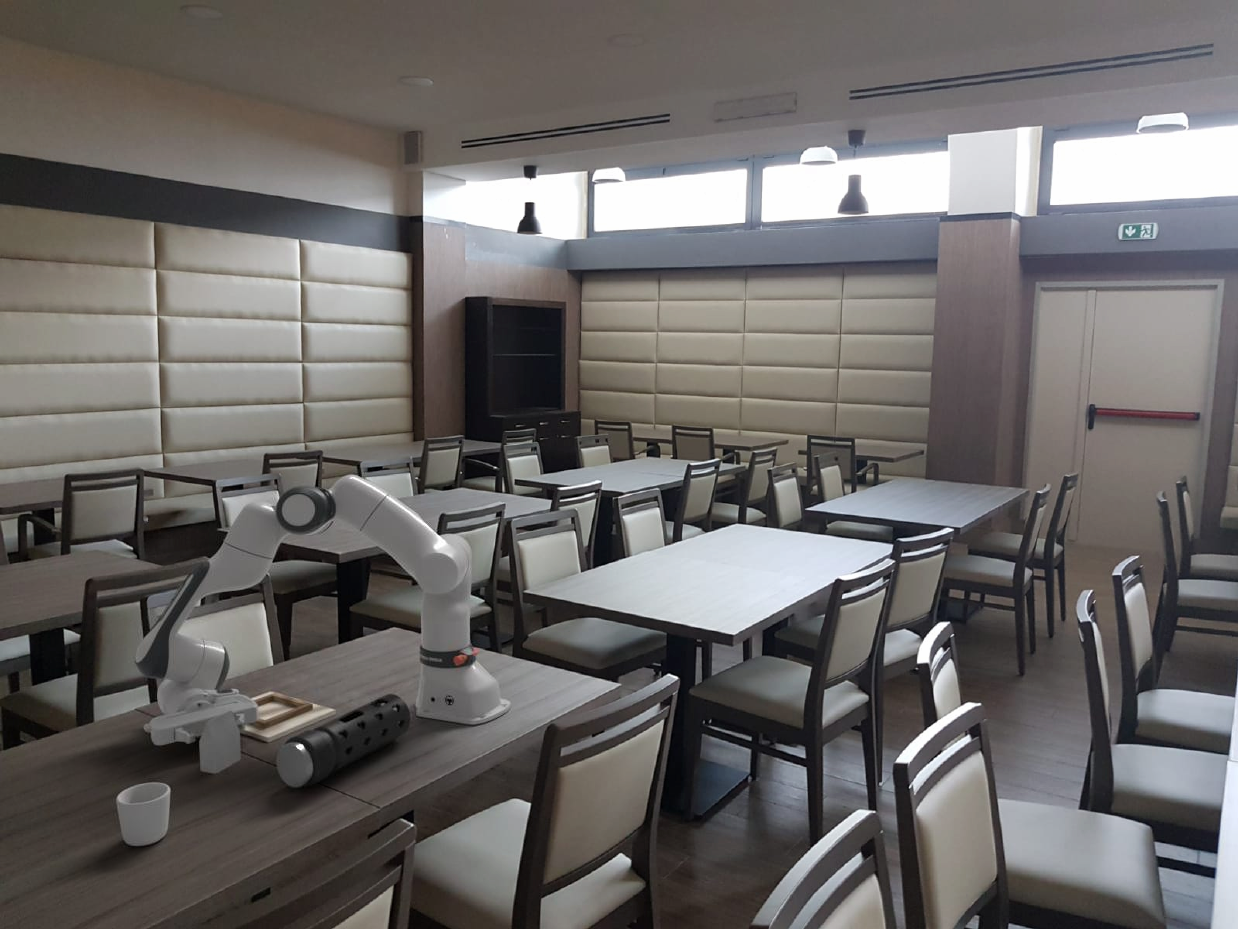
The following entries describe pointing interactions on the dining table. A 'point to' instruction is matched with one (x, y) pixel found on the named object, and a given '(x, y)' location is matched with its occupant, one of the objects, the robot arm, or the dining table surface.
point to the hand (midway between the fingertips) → (216, 732)
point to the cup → (144, 813)
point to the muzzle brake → (341, 741)
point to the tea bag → (219, 743)
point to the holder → (283, 716)
